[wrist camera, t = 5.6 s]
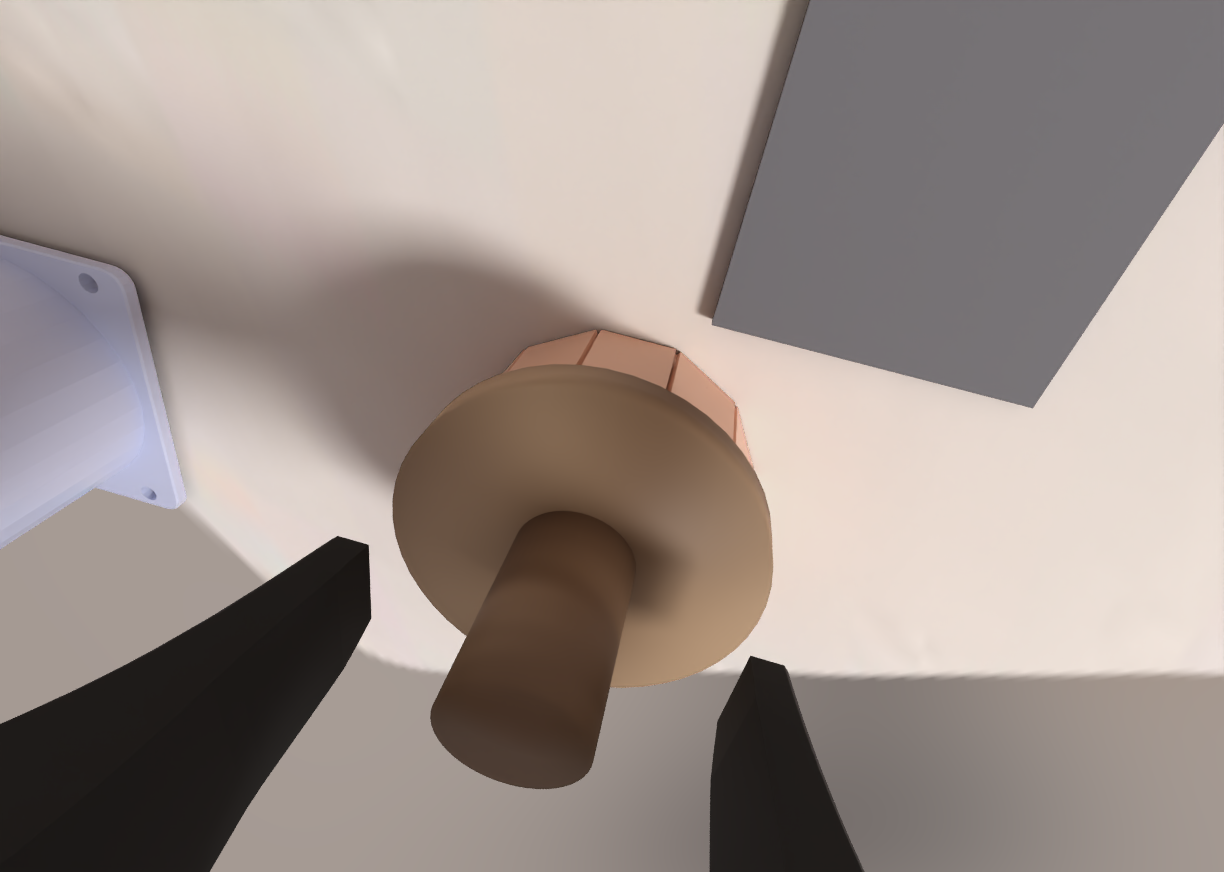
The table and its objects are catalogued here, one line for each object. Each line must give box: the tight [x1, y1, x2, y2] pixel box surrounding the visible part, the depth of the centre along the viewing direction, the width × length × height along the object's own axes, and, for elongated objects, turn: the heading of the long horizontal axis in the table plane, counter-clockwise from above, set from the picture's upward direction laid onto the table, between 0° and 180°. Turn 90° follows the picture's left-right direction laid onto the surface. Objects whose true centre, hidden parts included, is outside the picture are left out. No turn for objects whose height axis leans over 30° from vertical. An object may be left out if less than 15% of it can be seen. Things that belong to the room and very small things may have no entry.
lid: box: [393, 364, 773, 789], centre depth 11 cm, size 8×8×5 cm
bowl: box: [503, 330, 754, 469], centre depth 15 cm, size 7×7×3 cm
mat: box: [712, 0, 1224, 408], centre depth 11 cm, size 7×7×1 cm
